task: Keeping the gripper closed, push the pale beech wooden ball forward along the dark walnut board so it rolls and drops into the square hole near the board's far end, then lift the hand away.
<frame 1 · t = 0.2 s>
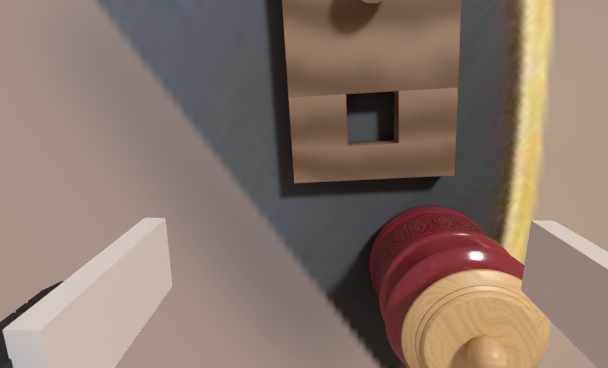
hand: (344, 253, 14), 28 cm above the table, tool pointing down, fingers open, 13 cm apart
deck: (368, 55, 38), on the table
canister: (424, 256, 44), on the table
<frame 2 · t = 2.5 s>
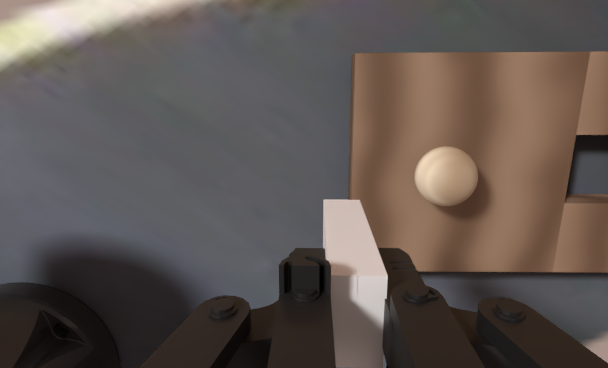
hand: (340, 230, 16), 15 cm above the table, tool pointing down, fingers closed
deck: (503, 162, 30), on the table
ball: (445, 176, 26), point 4 cm above the table, touching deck
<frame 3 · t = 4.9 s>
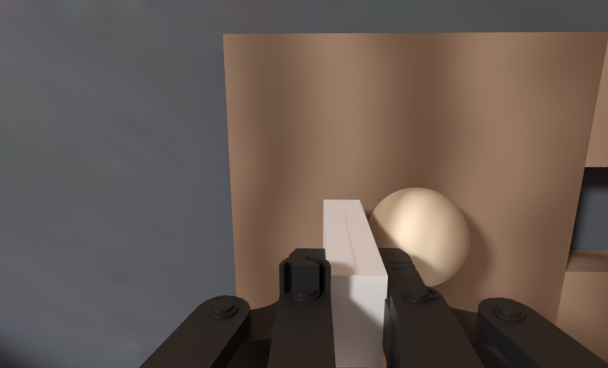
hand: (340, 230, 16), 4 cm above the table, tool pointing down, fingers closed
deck: (474, 204, 20), on the table
ball: (416, 236, 16), point 4 cm above the table, tilted 51°, touching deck
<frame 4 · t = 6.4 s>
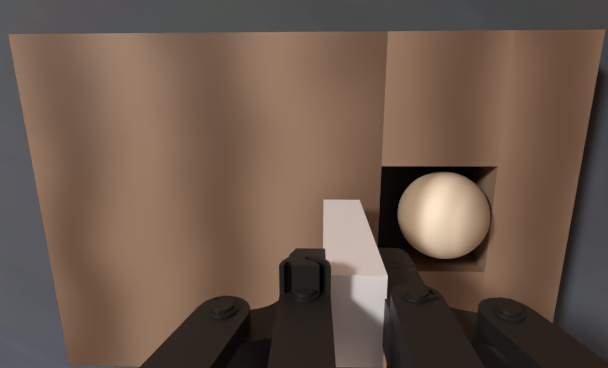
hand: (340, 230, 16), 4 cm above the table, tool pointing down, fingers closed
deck: (303, 203, 20), on the table
ball: (442, 214, 18), point 2 cm above the table, tilted 48°
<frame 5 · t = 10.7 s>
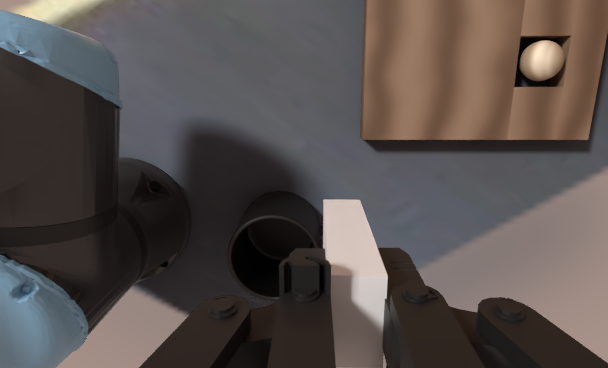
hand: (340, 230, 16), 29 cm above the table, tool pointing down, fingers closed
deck: (473, 63, 42), on the table
mug: (291, 225, 48), on the table
ball: (541, 60, 40), point 2 cm above the table, tilted 39°
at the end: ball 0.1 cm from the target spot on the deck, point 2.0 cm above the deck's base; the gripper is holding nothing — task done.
